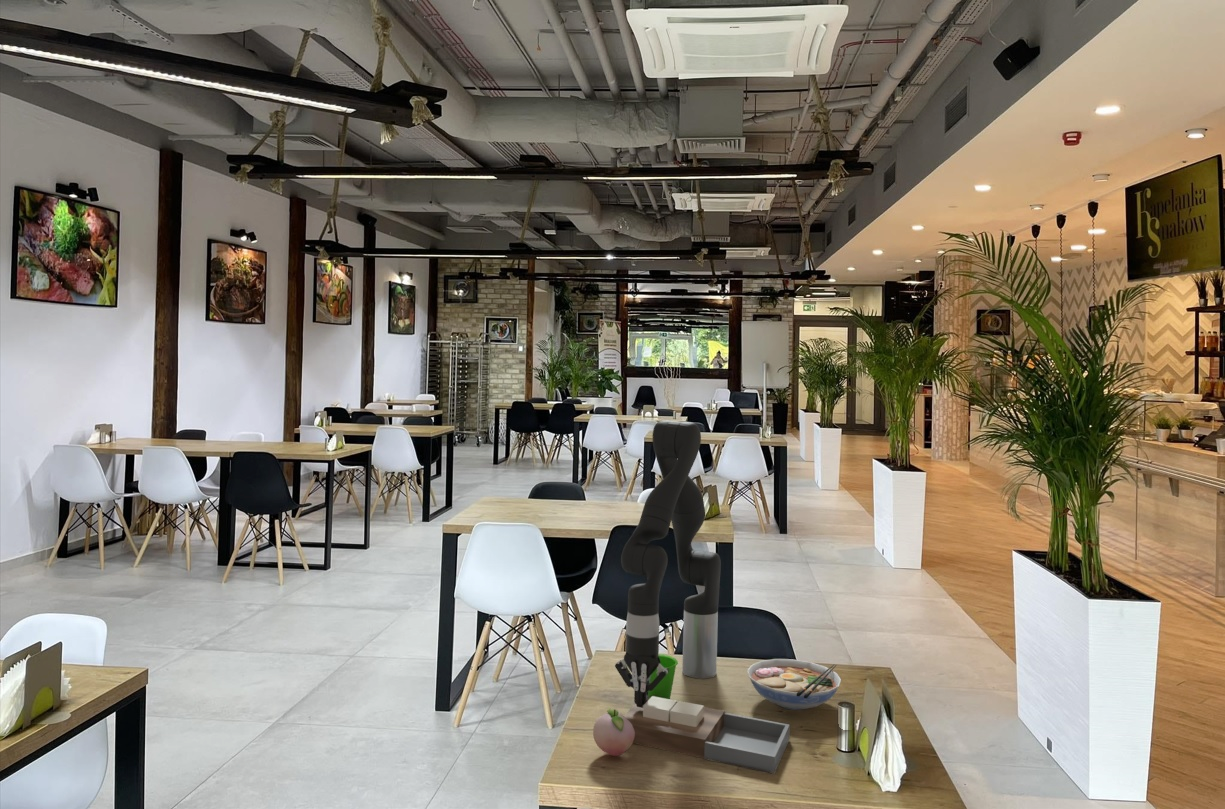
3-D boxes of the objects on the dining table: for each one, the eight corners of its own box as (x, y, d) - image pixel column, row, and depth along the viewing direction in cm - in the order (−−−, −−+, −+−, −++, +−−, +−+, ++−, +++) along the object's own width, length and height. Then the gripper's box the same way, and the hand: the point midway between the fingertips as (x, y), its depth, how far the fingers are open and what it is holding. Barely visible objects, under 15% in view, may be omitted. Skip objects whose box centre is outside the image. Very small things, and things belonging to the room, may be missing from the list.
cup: (633, 707, 194) (634, 663, 193) (649, 695, 202) (650, 652, 201) (667, 716, 189) (668, 670, 189) (682, 702, 197) (683, 658, 197)
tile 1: (652, 706, 185) (652, 696, 185) (676, 711, 183) (676, 700, 183) (642, 716, 179) (643, 705, 179) (668, 721, 177) (668, 710, 177)
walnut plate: (642, 712, 191) (643, 695, 191) (724, 728, 184) (724, 710, 183) (617, 739, 177) (617, 722, 176) (704, 758, 169) (705, 739, 169)
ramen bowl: (769, 678, 215) (770, 648, 214) (854, 699, 202) (855, 667, 201) (728, 709, 194) (729, 676, 194) (819, 735, 181) (821, 699, 181)
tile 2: (678, 711, 182) (678, 700, 182) (703, 716, 180) (704, 705, 180) (669, 722, 177) (670, 710, 177) (696, 727, 175) (696, 715, 175)
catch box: (724, 727, 184) (724, 712, 184) (789, 740, 178) (789, 724, 178) (704, 758, 169) (704, 742, 168) (774, 773, 163) (774, 756, 163)
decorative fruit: (586, 750, 171) (587, 704, 171) (620, 743, 175) (621, 698, 174) (603, 770, 163) (604, 721, 163) (639, 763, 166) (640, 715, 166)
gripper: (675, 630, 183) (673, 705, 184) (622, 622, 188) (620, 695, 189) (664, 640, 176) (662, 717, 177) (609, 631, 181) (607, 706, 182)
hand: (640, 705), depth 183 cm, fingers closed
